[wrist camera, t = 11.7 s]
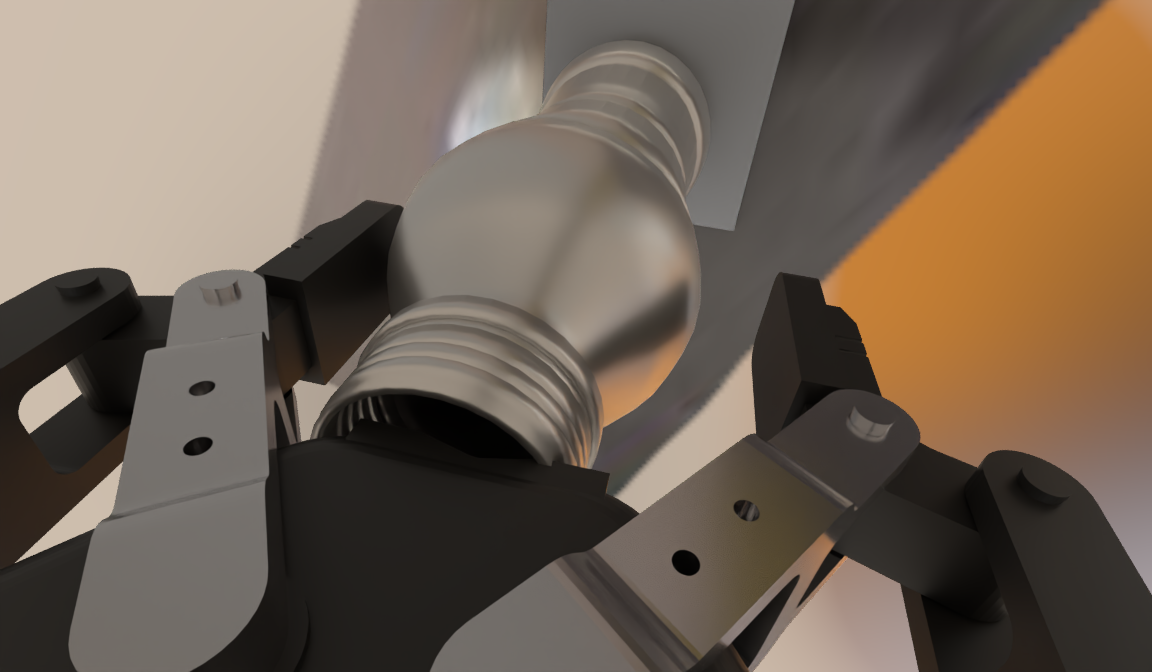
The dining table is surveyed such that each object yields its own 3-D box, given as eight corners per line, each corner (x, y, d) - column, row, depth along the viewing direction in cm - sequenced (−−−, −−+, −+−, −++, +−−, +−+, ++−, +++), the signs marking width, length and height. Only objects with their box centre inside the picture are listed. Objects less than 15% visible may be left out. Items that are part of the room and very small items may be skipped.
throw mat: (556, -116, 20) (552, -117, 20) (817, -91, 19) (819, -93, 19) (539, 195, 27) (537, 199, 26) (733, 227, 26) (733, 231, 25)
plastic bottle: (534, 163, 25) (208, 537, 9) (589, 0, 21) (187, 152, 5) (665, 222, 26) (572, 687, 9) (743, 72, 22) (814, 427, 6)
